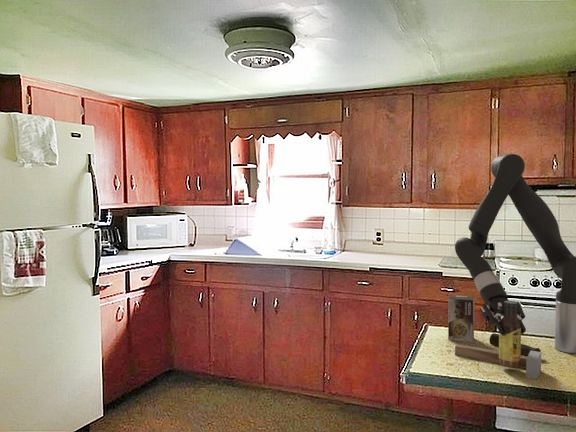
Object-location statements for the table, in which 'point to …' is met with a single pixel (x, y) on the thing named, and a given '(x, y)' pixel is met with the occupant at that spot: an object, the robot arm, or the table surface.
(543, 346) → the table surface
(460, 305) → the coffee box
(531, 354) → the end stop
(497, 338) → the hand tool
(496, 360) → the walnut straightedge
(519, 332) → the sauce bottle
